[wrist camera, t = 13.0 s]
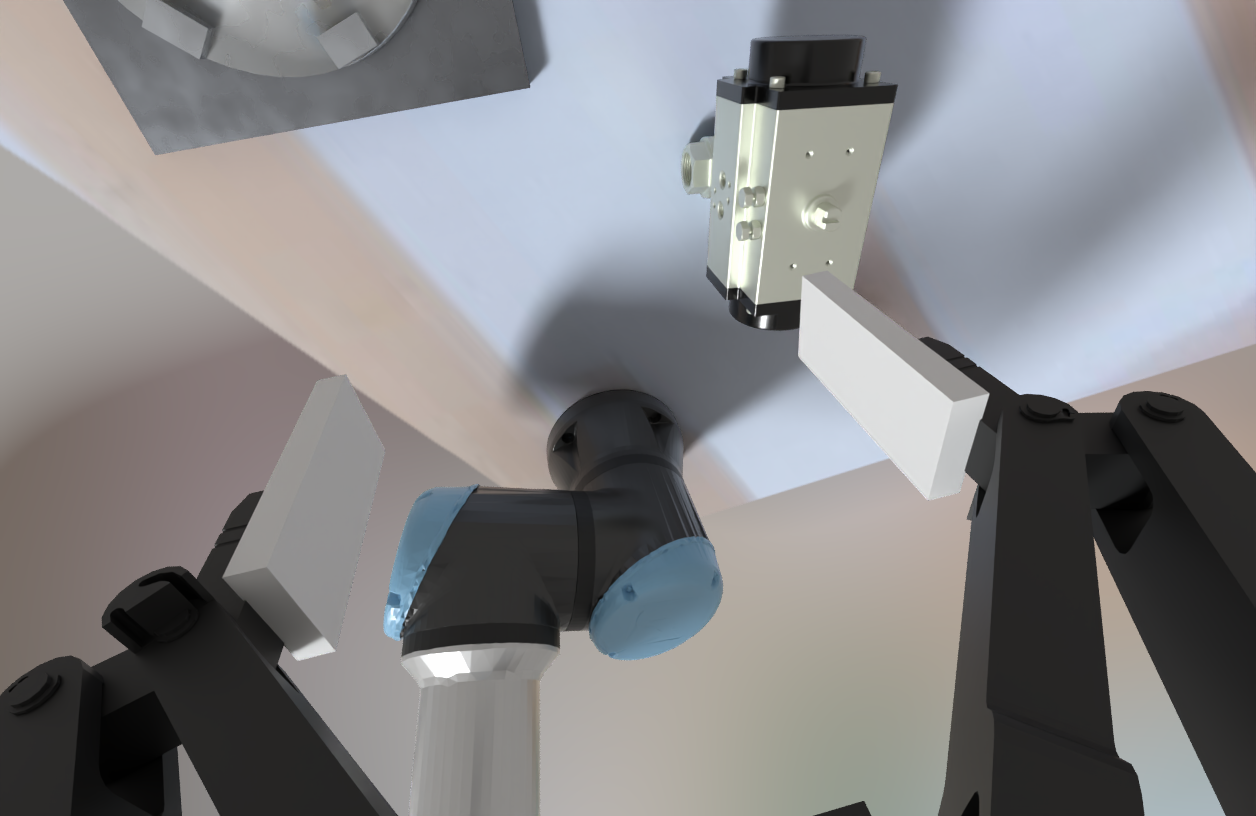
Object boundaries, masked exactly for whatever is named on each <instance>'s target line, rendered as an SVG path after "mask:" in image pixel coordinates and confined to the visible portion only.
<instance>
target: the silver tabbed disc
mask: <svg viewBox="0 0 1256 816" xmlns="http://www.w3.org/2000/svg"><path fill="white" fill-rule="evenodd" d="M118 1H119V2H120V3H121V4H122V5H123V6H125V7H126V8H127V9H128V10H129V11H131V12H132V13H133V14H135V15H136V16H137V17H139V18H140V19H141V20H143V23H142V27H143V28H145V29H146V30H148V31H150V32H152V33H154V34H155V35H157V36H159V37H161V38H162V39H164V40H166V41H168V42H169V43H171V44H173V45H175V46H177V47H178V48H180V49H182V50H184V51H185V52H187V53H189V54H191V55H192V56H194V57H196V58H198V59H209V60H212V61H215V62H217V63H220V64H222V65H225V66H228V67H230V68H234V69H238V70H242V71H246V72H249V73H253V74H259V75H267V76H274V77H306V76H312V75H319V74H325V73H328V72H331V71H334V70H337V69H340V68H344V67H346V66H349V65H352V64H355V63H357V62H359V61H361V60H362V59H364V58H366V57H368V56H370V55H372V54H373V53H374V52H376V51H377V50H378V49H380V48H381V47H382V46H384V45H385V44H386V43H387V42H388V41H389V40H390V39H391V38H392V37H393V36H394V35H395V34H396V33H397V32H398V31H399V30H400V29H401V27H402V26H403V24H404V23H405V21H406V20H407V18H408V17H409V16H410V14H411V13H412V11H413V9H414V7H415V5H416V3H417V1H418V0H118Z"/></svg>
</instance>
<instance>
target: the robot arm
mask: <svg viewBox="0 0 1256 816" xmlns="http://www.w3.org/2000/svg"><path fill="white" fill-rule="evenodd" d="M798 357H799V358H800V359H801V360H802V361H803V362H804V364H805V365H806V366H807V367H808V368H809V369H810V370H811V371H812V372H813V374H814V375H815V376H816V377H817V378H818V379H819V380H820V381H821V382H822V384H823V385H824V386H825V387H826V388H827V389H828V390H829V391H830V392H831V394H832V395H833V396H834V397H835V398H836V399H837V400H838V401H839V402H840V404H841V405H842V406H843V407H844V408H845V409H846V410H847V411H848V412H849V414H850V415H851V416H852V417H853V418H854V419H855V420H856V421H857V422H858V424H859V425H860V426H861V427H862V428H863V429H864V430H865V431H866V432H867V434H868V435H869V436H870V437H871V438H872V439H873V440H874V441H875V442H876V444H877V445H878V446H879V447H880V448H881V449H882V450H883V451H884V452H885V454H886V455H887V456H888V457H889V458H890V459H891V460H892V461H893V462H894V464H895V465H896V466H897V467H898V468H899V469H900V470H901V471H902V472H903V474H904V475H905V476H906V477H907V478H908V479H909V480H910V481H911V482H912V484H913V485H914V486H915V487H916V488H917V489H918V490H919V491H920V492H921V494H922V495H923V496H924V497H925V498H926V499H927V500H928V501H929V500H933V499H937V498H941V497H945V496H948V495H952V494H956V493H960V489H961V486H962V482H963V479H964V476H965V473H967V474H968V475H969V476H970V477H971V478H972V479H973V480H975V482H976V483H977V484H978V486H977V489H976V492H975V495H974V498H973V501H972V504H971V507H970V510H969V513H968V516H967V519H968V520H971V521H972V522H971V532H970V542H969V552H968V562H967V572H966V582H965V593H964V602H963V613H962V622H961V632H960V642H959V652H958V662H957V671H956V681H955V682H956V683H955V692H954V702H953V711H952V721H951V732H950V741H949V751H948V761H947V772H946V780H945V787H944V793H943V797H942V801H941V805H940V809H939V813H938V816H1144V808H1143V800H1142V793H1141V789H1140V784H1139V780H1138V776H1137V774H1136V772H1135V770H1134V768H1133V766H1132V764H1130V763H1128V762H1126V761H1125V760H1123V759H1121V758H1119V756H1118V754H1117V752H1116V748H1115V743H1114V735H1113V725H1112V715H1111V706H1110V696H1109V686H1108V676H1107V667H1106V657H1105V646H1104V637H1103V627H1102V617H1101V607H1100V597H1099V588H1098V577H1097V567H1096V558H1095V548H1094V539H1095V541H1096V543H1097V545H1098V547H1099V549H1100V552H1101V554H1102V556H1103V558H1104V560H1105V562H1106V564H1107V566H1108V568H1109V570H1110V573H1111V575H1112V577H1113V579H1114V581H1115V583H1116V585H1117V587H1118V589H1119V592H1120V594H1121V596H1122V598H1123V600H1124V602H1125V604H1126V606H1127V608H1128V610H1129V613H1130V615H1131V617H1132V619H1133V621H1134V623H1135V625H1136V627H1137V629H1138V631H1139V634H1140V636H1141V638H1142V640H1143V642H1144V644H1145V646H1146V648H1147V650H1148V653H1149V655H1150V657H1151V659H1152V661H1153V663H1154V665H1155V667H1156V670H1157V672H1158V674H1159V676H1160V678H1161V680H1162V682H1163V684H1164V686H1165V688H1166V691H1167V693H1168V695H1169V697H1170V699H1171V701H1172V703H1173V705H1174V707H1175V709H1176V712H1177V714H1178V716H1179V718H1180V720H1181V722H1182V724H1183V726H1184V729H1185V731H1186V733H1187V735H1188V737H1189V739H1190V741H1191V743H1192V745H1193V747H1194V749H1195V751H1196V754H1197V756H1198V758H1199V760H1200V762H1201V764H1202V766H1203V769H1204V771H1205V773H1206V775H1207V777H1208V779H1209V781H1210V783H1211V785H1212V788H1213V790H1214V792H1215V794H1216V795H1217V798H1218V800H1219V802H1220V804H1221V806H1222V809H1223V811H1224V813H1225V815H1226V816H1256V473H1255V471H1254V470H1253V469H1252V468H1251V467H1250V465H1249V464H1248V463H1247V462H1246V461H1245V459H1244V458H1243V457H1242V456H1241V455H1240V454H1239V453H1238V451H1237V450H1236V449H1235V448H1234V447H1233V445H1232V444H1231V443H1230V442H1229V441H1228V440H1227V438H1226V437H1225V436H1224V435H1223V434H1222V433H1221V431H1220V430H1219V429H1218V428H1217V427H1216V425H1215V424H1214V423H1213V422H1212V421H1211V420H1210V418H1209V417H1208V416H1207V415H1206V414H1205V413H1204V412H1203V411H1202V410H1201V409H1200V408H1198V407H1197V406H1196V405H1195V404H1193V403H1190V402H1188V401H1186V400H1184V399H1182V398H1180V397H1177V396H1174V395H1170V394H1166V393H1162V392H1151V391H1143V392H1132V393H1129V394H1127V395H1124V396H1123V398H1122V399H1121V400H1120V401H1119V403H1118V406H1117V408H1116V410H1115V412H1114V413H1078V412H1077V411H1076V410H1075V409H1074V408H1072V407H1071V406H1070V405H1069V404H1067V403H1065V402H1062V401H1060V400H1058V399H1056V398H1052V397H1048V396H1044V395H1035V394H1024V395H1019V394H1017V393H1016V392H1014V391H1013V390H1012V389H1010V388H1009V387H1007V386H1006V385H1005V384H1003V383H1002V382H1000V381H999V380H998V379H996V378H995V377H993V376H992V375H991V374H989V373H988V372H986V371H985V370H984V369H982V368H981V367H977V366H976V364H975V363H974V362H973V361H971V360H970V359H968V358H964V355H963V354H961V353H960V352H959V351H957V350H956V349H954V348H953V347H952V346H950V345H949V344H946V343H943V342H941V341H938V340H935V339H933V338H930V337H925V338H921V339H917V338H916V337H914V336H913V335H912V334H910V333H909V332H908V331H906V330H905V329H904V328H902V327H901V326H900V325H899V324H897V323H896V322H895V321H893V320H892V319H891V318H889V317H888V316H887V315H885V314H884V313H883V312H881V311H880V310H879V309H877V308H876V307H875V306H873V305H872V304H871V303H869V302H868V301H867V300H866V299H864V298H863V297H862V296H860V295H859V294H858V293H856V292H855V291H854V290H852V289H851V288H850V287H848V286H847V285H846V284H844V283H843V282H842V281H840V280H839V279H838V278H836V277H835V276H834V275H833V274H831V273H830V272H829V271H822V272H818V273H813V274H809V275H804V276H802V292H801V311H800V330H799V349H798ZM683 452H684V444H683V438H682V434H681V431H680V428H679V426H678V424H677V422H676V420H675V417H674V416H673V414H672V412H671V411H670V410H669V409H668V408H667V407H666V406H665V405H664V404H663V403H662V402H661V401H659V400H657V399H656V398H654V397H652V396H650V395H647V394H644V393H641V392H636V391H629V390H615V391H607V392H602V393H599V394H595V395H592V396H590V397H588V398H585V399H583V400H581V401H580V402H578V403H576V404H575V405H573V406H572V407H571V408H569V409H568V410H567V411H566V412H565V413H564V414H563V415H562V416H561V417H560V418H559V419H558V421H557V422H556V423H555V425H554V427H553V428H552V430H551V433H550V435H549V438H548V442H547V460H548V467H549V472H550V475H551V478H552V480H553V482H554V484H555V486H556V487H557V489H558V490H549V489H523V488H503V487H482V486H480V485H478V484H475V485H472V486H470V487H435V488H432V489H429V490H427V491H425V492H423V493H422V494H421V495H420V496H419V497H418V498H417V499H416V501H415V503H414V504H413V506H412V508H411V511H410V513H409V515H408V518H407V521H406V523H405V527H404V530H403V533H402V536H401V539H400V543H399V546H398V550H397V554H396V558H395V562H394V566H393V571H392V575H391V580H390V585H389V590H390V592H389V594H388V600H387V604H386V607H385V613H384V632H385V633H386V635H387V636H388V637H391V638H393V639H394V640H396V641H398V640H401V639H403V648H402V656H401V664H402V665H403V667H404V668H405V669H406V670H407V671H408V672H409V673H410V675H411V676H412V677H413V678H414V679H415V680H416V681H417V684H418V686H419V688H420V698H419V709H418V719H417V730H416V741H415V751H414V761H413V772H412V782H411V793H410V804H409V814H408V816H540V680H541V678H542V676H543V674H544V673H545V672H546V671H547V669H548V668H549V667H550V666H551V664H552V663H553V662H554V661H555V660H556V658H557V657H558V656H559V655H560V637H559V636H560V632H562V631H589V635H590V639H591V641H593V643H594V644H595V646H596V648H597V649H598V650H599V651H600V652H601V653H603V654H605V655H607V654H608V655H609V657H611V658H614V659H619V660H638V659H644V658H648V657H652V656H656V655H659V654H661V653H664V652H666V651H669V650H671V649H673V648H675V647H677V646H679V645H681V644H682V643H684V642H685V641H686V640H688V639H689V638H691V637H692V636H694V635H695V634H696V633H698V632H699V631H700V630H701V629H702V628H703V627H704V626H705V625H706V624H707V623H708V622H709V620H710V619H711V618H712V617H713V615H714V614H715V612H716V610H717V608H718V606H719V604H720V601H721V598H722V593H723V581H722V576H721V573H720V570H719V566H718V563H717V560H716V556H715V550H714V547H713V545H712V544H711V542H710V541H709V539H708V537H707V534H706V532H705V530H704V528H703V525H702V523H701V520H700V518H699V515H698V513H697V511H696V508H695V506H694V504H693V501H692V499H691V497H690V494H689V492H688V489H687V487H686V485H685V483H684V480H683V478H682V473H683ZM384 454H385V449H384V447H383V445H382V443H381V441H380V439H379V437H378V435H377V433H376V432H375V429H374V427H373V425H372V424H371V422H370V420H369V418H368V416H367V414H366V412H365V410H364V408H363V406H362V404H361V402H360V400H359V399H358V397H357V395H356V393H355V391H354V389H353V387H352V385H351V383H350V381H349V379H348V377H347V375H346V374H345V375H340V376H336V377H331V378H326V379H322V380H317V382H316V384H315V387H314V388H313V391H312V393H311V395H310V397H309V399H308V401H307V403H306V405H305V407H304V409H303V411H302V414H301V415H300V417H299V419H298V422H297V424H296V426H295V428H294V430H293V432H292V434H291V436H290V438H289V440H288V442H287V444H286V446H285V449H284V451H283V453H282V455H281V457H280V459H279V461H278V463H277V465H276V467H275V469H274V471H273V473H272V476H271V478H270V480H269V482H268V484H267V486H266V488H265V490H264V491H259V492H255V493H251V494H249V495H248V496H247V497H246V498H245V499H244V500H243V501H242V502H241V503H240V504H239V505H238V506H237V507H236V508H235V509H234V510H233V511H232V512H231V514H230V516H229V518H228V520H227V522H226V524H225V526H224V528H223V530H222V531H223V533H221V534H220V535H219V537H218V539H217V541H216V543H215V548H214V549H212V551H211V553H210V554H209V556H208V558H207V560H206V562H205V564H204V566H203V567H202V569H201V571H200V573H199V575H198V577H197V579H196V578H195V577H194V576H193V575H192V574H191V573H190V572H189V571H188V570H186V569H184V568H183V567H181V566H177V567H165V568H163V569H159V570H156V571H153V572H151V573H149V574H147V575H145V576H143V577H141V578H139V579H137V580H136V581H134V582H133V583H132V584H130V585H129V586H128V587H126V588H125V589H124V590H122V591H121V592H120V593H119V594H118V595H117V596H116V597H115V598H114V599H113V600H112V601H111V603H110V604H109V605H108V607H107V609H106V610H105V612H104V614H103V616H102V628H104V629H105V630H106V631H107V632H109V633H110V634H111V635H112V636H113V637H115V638H116V639H117V640H118V641H119V642H121V643H122V644H123V645H124V646H126V647H127V648H128V650H126V651H124V652H122V653H120V654H118V655H116V656H113V657H111V658H109V659H107V660H105V661H103V662H101V663H99V664H97V665H95V666H92V667H90V666H89V665H87V664H86V663H85V662H83V661H82V660H81V659H79V658H76V657H73V656H65V657H58V658H55V659H53V660H50V661H48V662H46V663H43V664H41V665H39V666H37V667H36V668H34V669H32V670H31V671H29V672H28V673H26V674H24V675H23V676H21V677H20V678H19V679H17V680H16V681H15V682H14V683H12V684H11V685H10V686H9V687H8V688H7V689H6V690H5V691H4V692H3V693H2V694H1V696H0V816H182V810H181V796H180V780H179V766H178V751H177V746H179V745H181V744H183V746H184V748H185V750H186V752H187V754H188V756H189V758H190V760H191V761H192V763H193V765H194V767H195V769H196V771H197V773H198V775H199V777H200V778H201V780H202V782H203V784H204V786H205V788H206V790H207V792H208V794H209V795H210V797H211V799H212V801H213V803H214V805H215V807H216V809H217V811H218V813H219V814H220V816H398V815H397V814H396V813H395V811H394V810H393V809H392V808H391V806H390V805H389V804H388V802H387V801H386V800H385V799H384V797H383V796H382V795H381V794H380V792H379V791H378V790H377V788H376V787H375V786H374V785H373V783H372V782H371V781H370V779H369V778H368V777H367V776H366V774H365V773H364V772H363V771H362V769H361V768H360V767H359V766H358V764H357V763H356V762H355V761H354V759H353V758H352V757H351V755H350V754H349V753H348V751H347V750H346V749H345V748H344V746H343V745H342V744H341V743H340V741H339V740H338V739H337V737H336V736H335V735H334V734H333V732H332V731H331V730H330V729H329V727H328V726H327V725H326V723H325V722H324V721H323V720H322V718H321V717H320V716H319V714H318V713H317V712H316V711H315V709H314V708H313V707H312V706H311V704H310V703H309V702H308V700H307V699H306V698H305V697H304V696H303V694H302V693H301V692H300V690H299V689H298V688H297V686H296V685H295V684H294V683H293V681H292V680H291V679H290V678H289V676H288V675H287V674H286V672H285V671H284V670H283V669H282V668H281V667H280V666H279V665H278V660H279V658H280V655H281V652H282V649H283V646H285V647H286V648H287V649H288V650H289V652H290V653H291V654H292V655H293V656H294V657H295V658H296V659H297V660H298V661H299V660H303V659H307V658H311V657H315V656H319V655H323V654H327V653H331V652H335V651H336V648H337V644H338V640H339V636H340V632H341V627H342V624H343V619H344V616H345V611H346V608H347V604H348V599H349V596H350V592H351V588H352V583H353V579H354V575H355V571H356V567H357V563H358V559H359V555H360V551H361V547H362V543H363V538H364V535H365V531H366V526H367V523H368V519H369V515H370V511H371V506H372V503H373V499H374V495H375V491H376V487H377V482H378V478H379V474H380V470H381V466H382V462H383V458H384ZM1093 537H1094V538H1093ZM815 816H871V814H870V812H869V810H868V808H867V806H866V804H865V802H864V801H862V802H858V803H855V804H852V805H848V806H845V807H842V808H838V809H835V810H831V811H828V812H825V813H821V814H818V815H815Z"/></svg>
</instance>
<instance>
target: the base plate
mask: <svg viewBox="0 0 1256 816" xmlns="http://www.w3.org/2000/svg"><path fill="white" fill-rule="evenodd" d="M63 1H64V3H65V4H66V6H67V8H68V9H69V11H70V13H71V14H72V16H73V18H74V19H75V21H76V23H77V24H78V26H79V28H80V29H81V31H82V33H83V34H84V36H85V38H86V40H87V41H88V43H89V45H90V46H91V48H92V50H93V51H94V53H95V55H96V56H97V58H98V60H99V61H100V63H101V65H102V66H103V68H104V70H105V71H106V73H107V75H108V76H109V78H110V80H111V81H112V83H113V85H114V87H115V88H116V90H117V92H118V93H119V95H120V97H121V98H122V100H123V102H124V103H125V105H126V107H127V108H128V110H129V112H130V113H131V115H132V117H133V118H134V120H135V122H136V123H137V125H138V127H139V129H140V130H141V132H142V134H143V135H144V137H145V139H146V140H147V142H148V144H149V145H150V147H151V149H152V150H153V152H154V154H155V155H159V154H164V153H170V152H175V151H181V150H187V149H192V148H198V147H203V146H209V145H214V144H220V143H225V142H231V141H237V140H242V139H248V138H253V137H259V136H264V135H270V134H275V133H281V132H286V131H292V130H298V129H303V128H309V127H314V126H320V125H325V124H331V123H336V122H342V121H348V120H353V119H359V118H364V117H370V116H375V115H381V114H386V113H392V112H397V111H403V110H409V109H414V108H420V107H425V106H431V105H436V104H442V103H447V102H453V101H459V100H464V99H470V98H475V97H481V96H486V95H492V94H497V93H503V92H508V91H514V90H520V89H525V88H530V84H529V79H528V74H527V69H526V65H525V60H524V55H523V50H522V45H521V41H520V36H519V31H518V26H517V22H516V17H515V12H514V7H513V2H512V0H418V1H417V3H416V5H415V7H414V9H413V11H412V13H411V14H410V16H409V17H408V18H407V20H406V21H405V23H404V24H403V26H402V27H401V29H400V30H399V31H398V32H397V33H396V34H395V35H394V36H393V37H392V38H391V39H390V40H389V41H388V42H387V43H386V44H385V45H384V46H382V47H381V48H380V49H378V50H377V51H376V52H374V53H373V54H372V55H370V56H368V57H366V58H364V59H362V60H361V61H359V62H357V63H355V64H352V65H349V66H346V67H344V68H340V69H337V70H334V71H331V72H328V73H325V74H319V75H312V76H306V77H274V76H267V75H259V74H253V73H249V72H246V71H242V70H238V69H234V68H230V67H228V66H225V65H222V64H220V63H217V62H215V61H212V60H209V59H198V58H196V57H194V56H192V55H191V54H189V53H187V52H185V51H184V50H182V49H180V48H178V47H177V46H175V45H173V44H171V43H169V42H168V41H166V40H164V39H162V38H161V37H159V36H157V35H155V34H154V33H152V32H150V31H148V30H146V29H145V28H143V27H142V23H143V20H141V19H140V18H139V17H137V16H136V15H135V14H133V13H132V12H131V11H129V10H128V9H127V8H126V7H125V6H123V5H122V4H121V3H120V2H119V1H118V0H63Z"/></svg>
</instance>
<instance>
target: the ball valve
mask: <svg viewBox="0 0 1256 816" xmlns="http://www.w3.org/2000/svg"><path fill="white" fill-rule="evenodd" d="M865 44H866V37H865V36H857V35H803V36H777V37H762V38H755V39H752V40H751V46H750V59H749V71H748V70H747V69H735V70H734V76H726V77H723V78H722V79H719V80H717V93H716V111H715V129H714V136H707V137H702V138H701V140H700V142H694V143H689V144H687V145H686V146H685V148H684V150H683V153H682V159H681V175H682V182H683V186H684V189H685V191H686V193H687V194H688V195H690V194H701V196H702V197H703V198H711V201H710V219H709V238H708V256H707V274H706V277H707V278H708V279H709V280H710V282H711V283H712V284H713V285H714V287H715V288H716V289H717V290H718V291H719V293H720V294H721V295H722V296H723V297H724V299H725V300H730V301H729V311H730V314H731V315H732V316H733V317H734V318H735V319H736V320H737V321H739V322H741V323H743V324H745V325H748V326H751V327H754V328H758V329H764V330H774V331H783V330H793V329H798V328H800V311H801V292H802V276H804V275H809V274H813V273H818V272H822V271H829V272H830V273H831V274H833V275H834V276H835V277H836V278H838V279H839V280H840V281H842V282H843V283H844V284H846V285H847V286H848V287H850V288H851V289H852V290H853V289H854V284H855V280H856V275H857V270H858V266H859V261H860V257H861V252H862V247H863V243H864V238H865V234H866V229H867V224H868V220H869V215H870V211H871V206H872V202H873V197H874V192H875V188H876V183H877V179H878V174H879V169H880V165H881V160H882V156H883V151H884V146H885V142H886V137H887V133H888V128H889V123H890V119H891V114H892V110H893V105H894V101H895V96H896V91H897V87H898V84H892V83H886V82H880V76H881V72H879V71H868V72H866V73H865V78H864V79H862V78H859V77H860V72H861V66H862V61H863V55H864V50H865ZM747 71H748V75H747Z"/></svg>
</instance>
